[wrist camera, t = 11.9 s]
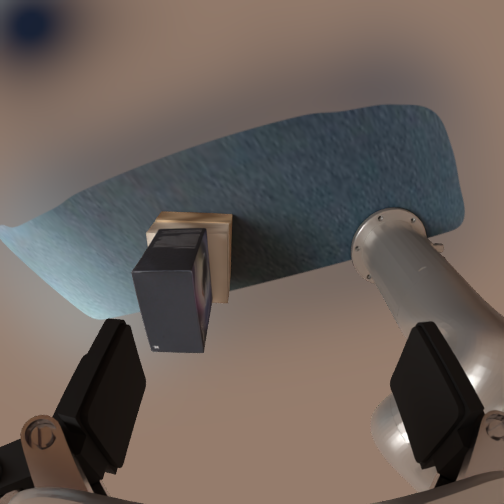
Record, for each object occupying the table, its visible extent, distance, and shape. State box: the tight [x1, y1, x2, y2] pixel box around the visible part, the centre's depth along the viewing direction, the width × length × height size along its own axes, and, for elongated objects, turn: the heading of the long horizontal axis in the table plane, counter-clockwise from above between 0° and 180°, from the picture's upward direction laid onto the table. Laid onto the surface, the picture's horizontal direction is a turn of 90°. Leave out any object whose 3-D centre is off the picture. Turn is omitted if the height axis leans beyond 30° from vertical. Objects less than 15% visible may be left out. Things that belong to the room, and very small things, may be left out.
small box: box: [131, 228, 213, 353], centre depth 36 cm, size 11×6×10 cm, turn 1°
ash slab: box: [146, 222, 230, 303], centre depth 42 cm, size 10×10×4 cm
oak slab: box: [156, 212, 232, 284], centre depth 45 cm, size 10×10×4 cm
